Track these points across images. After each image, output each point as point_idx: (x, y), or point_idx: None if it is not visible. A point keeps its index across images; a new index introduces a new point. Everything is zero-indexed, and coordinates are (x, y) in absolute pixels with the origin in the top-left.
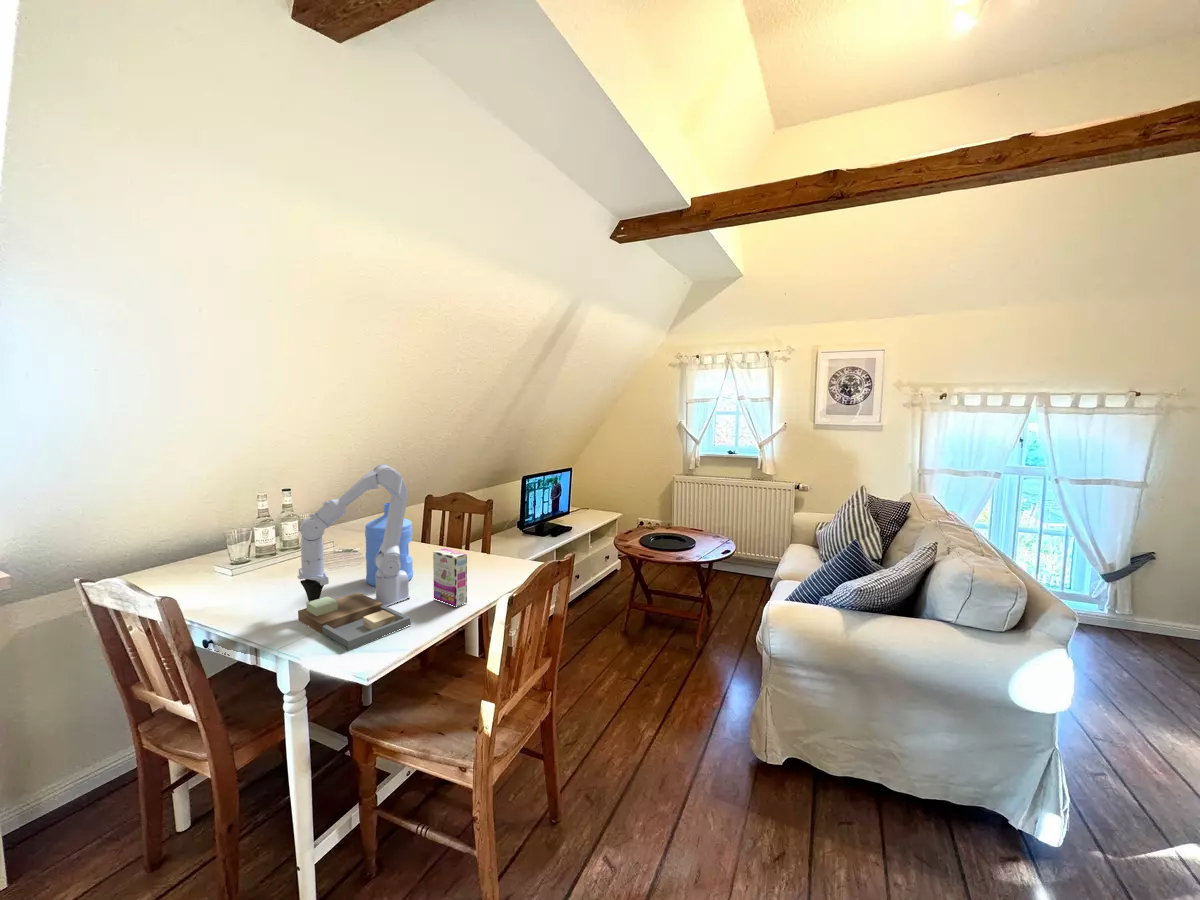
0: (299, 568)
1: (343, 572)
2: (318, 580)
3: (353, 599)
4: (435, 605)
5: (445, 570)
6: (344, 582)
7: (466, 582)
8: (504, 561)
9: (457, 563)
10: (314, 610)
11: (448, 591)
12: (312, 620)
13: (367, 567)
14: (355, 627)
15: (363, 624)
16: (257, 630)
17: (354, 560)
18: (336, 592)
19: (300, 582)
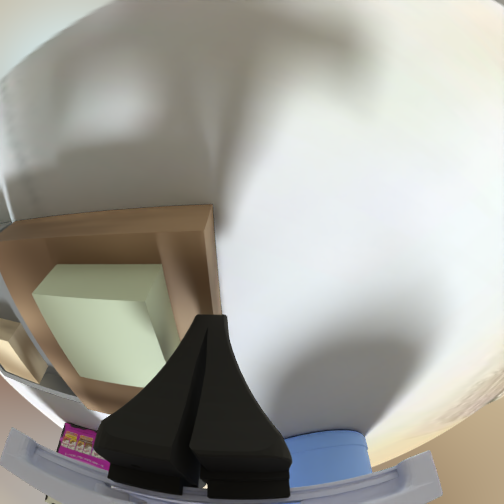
0: (439, 496)
1: (446, 400)
2: (22, 464)
3: None
4: (91, 424)
5: None
6: (404, 401)
7: None
8: None
9: None
10: (58, 280)
11: (73, 449)
12: (40, 234)
13: (341, 471)
14: (12, 305)
15: (18, 324)
16: (256, 10)
17: (460, 412)
18: (369, 384)
19: (269, 446)
